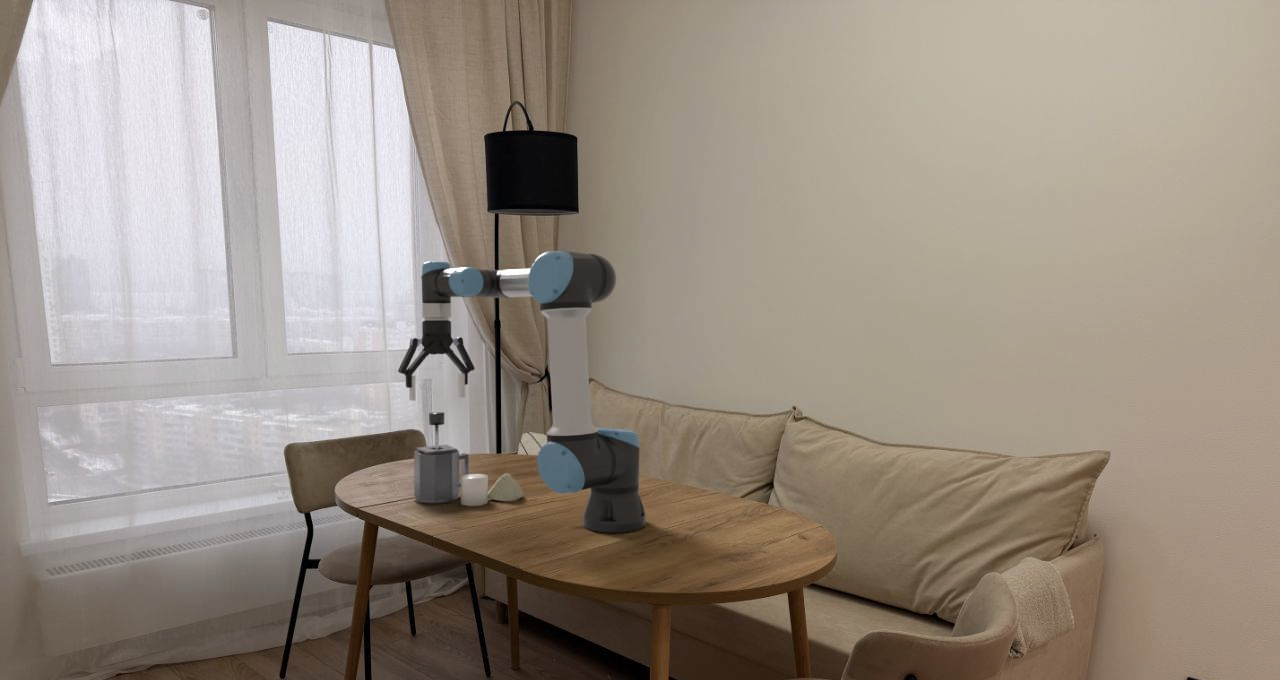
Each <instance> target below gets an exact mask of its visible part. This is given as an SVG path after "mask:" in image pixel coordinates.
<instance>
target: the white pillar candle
mask: <svg viewBox="0 0 1280 680" xmlns="http://www.w3.org/2000/svg"><path fill="white" fill-rule="evenodd" d="M488 479H489V477H488V475H487V474H483V473H468V475H463V476H462V475H461V476H460V482H461V487H460V504H461V505H462V506H465V505H466V506H467V507H478V506H485V505H487V503H488V499H489V498H488V492H489V490H488V484H489V482H488ZM488 504H489V503H488Z"/></svg>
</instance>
